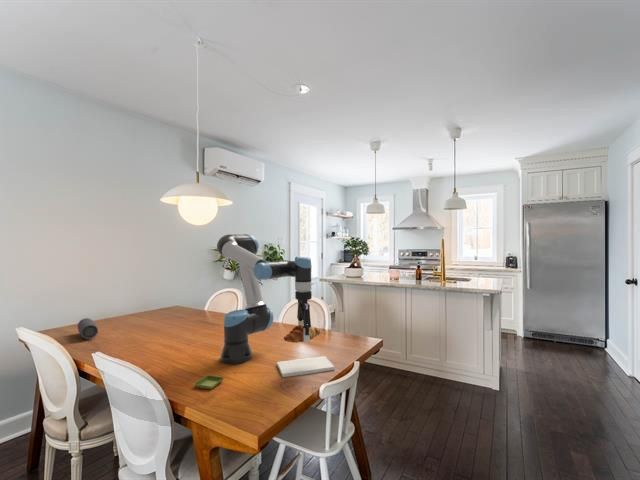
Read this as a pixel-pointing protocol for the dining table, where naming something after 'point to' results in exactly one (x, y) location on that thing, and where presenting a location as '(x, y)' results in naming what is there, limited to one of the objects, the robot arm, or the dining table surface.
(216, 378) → the saucer
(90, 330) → the bluetooth speaker
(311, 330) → the croissant
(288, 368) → the platter
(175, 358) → the dining table surface
